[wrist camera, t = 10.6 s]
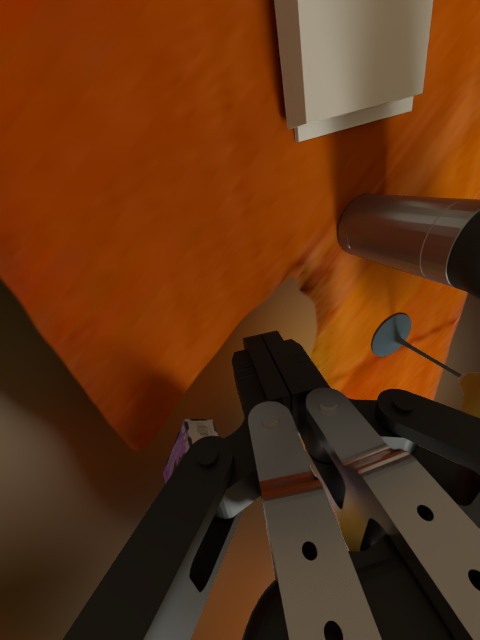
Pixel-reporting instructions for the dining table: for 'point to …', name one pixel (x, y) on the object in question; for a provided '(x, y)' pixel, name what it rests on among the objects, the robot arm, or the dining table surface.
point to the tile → (350, 54)
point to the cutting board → (352, 119)
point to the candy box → (187, 441)
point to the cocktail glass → (393, 335)
